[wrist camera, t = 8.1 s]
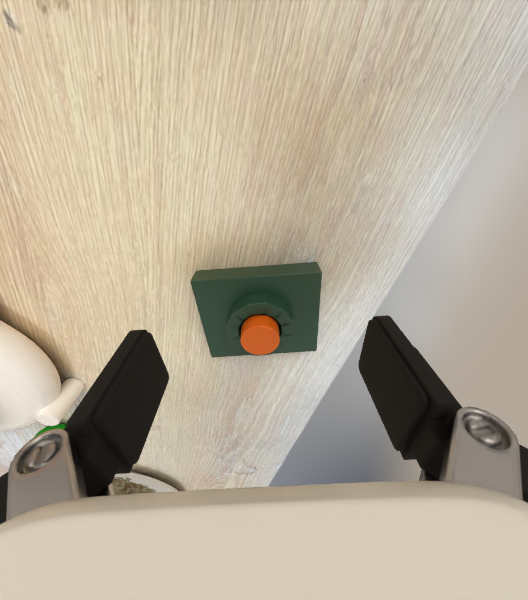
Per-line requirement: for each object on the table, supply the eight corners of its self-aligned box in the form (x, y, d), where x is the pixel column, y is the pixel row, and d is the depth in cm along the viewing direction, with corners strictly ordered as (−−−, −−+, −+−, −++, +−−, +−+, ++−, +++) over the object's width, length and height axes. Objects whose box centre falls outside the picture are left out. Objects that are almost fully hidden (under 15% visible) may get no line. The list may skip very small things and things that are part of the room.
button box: (317, 261, 23) (326, 281, 20) (312, 337, 29) (319, 363, 25) (195, 270, 23) (184, 291, 20) (214, 344, 29) (208, 370, 26)
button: (277, 313, 22) (279, 325, 21) (279, 341, 24) (280, 354, 23) (239, 315, 22) (237, 327, 21) (243, 343, 24) (243, 356, 23)
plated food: (144, 450, 44) (136, 472, 41) (206, 505, 60) (203, 523, 57) (9, 470, 47) (-7, 491, 45) (102, 516, 64) (94, 534, 61)
